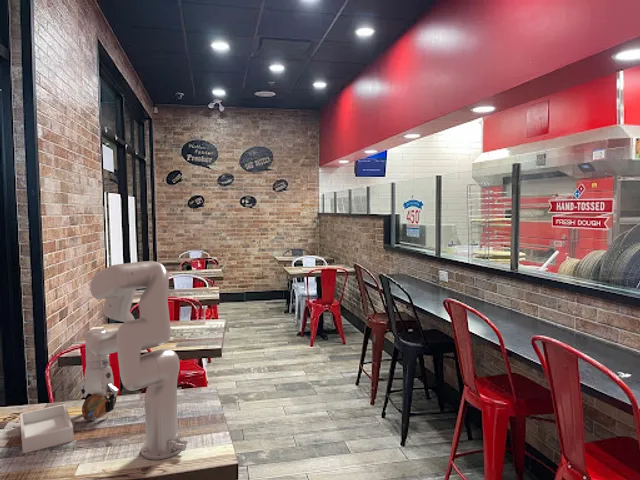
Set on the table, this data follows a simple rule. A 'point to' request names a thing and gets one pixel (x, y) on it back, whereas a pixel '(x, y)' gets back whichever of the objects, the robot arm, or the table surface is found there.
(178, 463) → the table surface
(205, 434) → the table surface
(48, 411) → the tote
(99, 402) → the tin
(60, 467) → the table surface
